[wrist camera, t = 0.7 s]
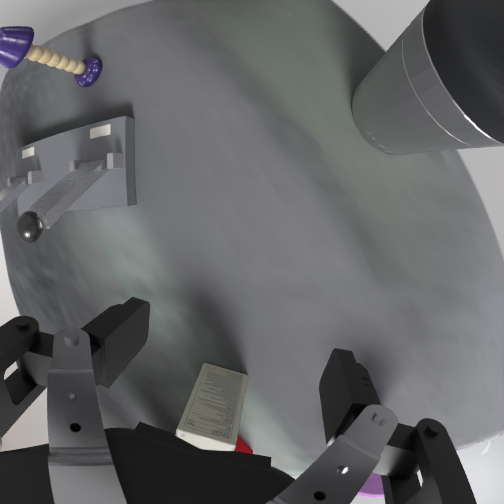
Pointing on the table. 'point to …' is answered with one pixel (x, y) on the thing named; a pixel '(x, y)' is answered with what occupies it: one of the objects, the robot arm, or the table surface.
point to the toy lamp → (43, 55)
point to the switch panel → (75, 153)
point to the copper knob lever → (13, 191)
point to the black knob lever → (58, 200)
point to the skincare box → (214, 409)
